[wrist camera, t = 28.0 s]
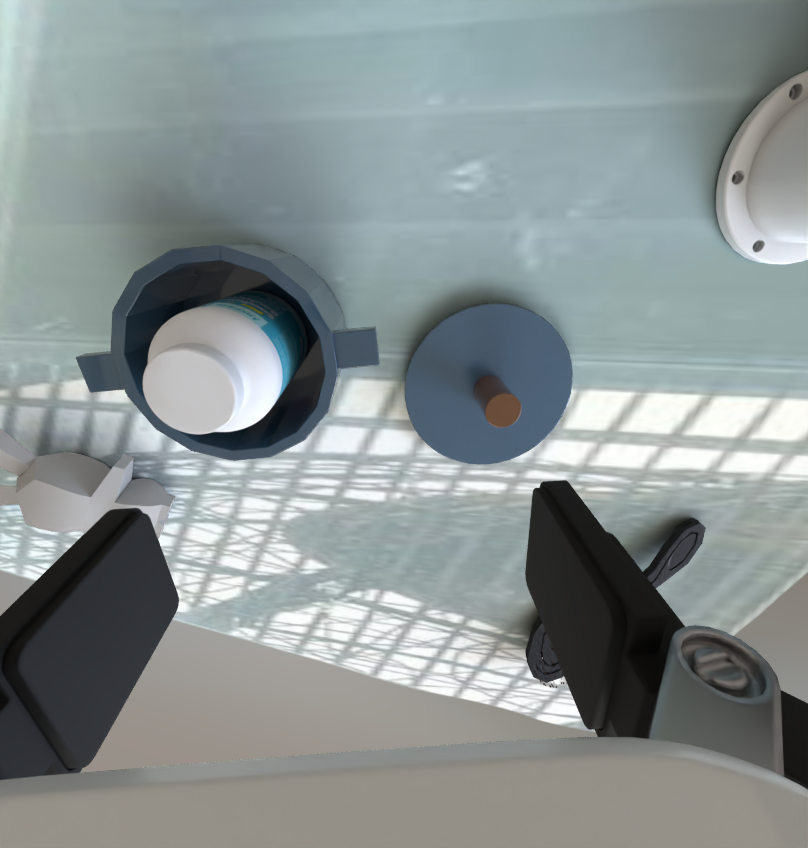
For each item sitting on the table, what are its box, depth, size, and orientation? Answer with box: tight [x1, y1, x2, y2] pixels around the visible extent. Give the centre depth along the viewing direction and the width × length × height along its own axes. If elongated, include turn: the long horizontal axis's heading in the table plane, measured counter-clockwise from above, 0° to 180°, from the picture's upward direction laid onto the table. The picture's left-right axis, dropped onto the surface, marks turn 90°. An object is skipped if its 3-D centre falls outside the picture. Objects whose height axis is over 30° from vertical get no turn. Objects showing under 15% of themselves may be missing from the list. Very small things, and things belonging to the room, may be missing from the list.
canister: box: [76, 244, 380, 461], centre depth 30 cm, size 14×19×8 cm
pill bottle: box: [143, 291, 307, 434], centre depth 27 cm, size 8×7×14 cm
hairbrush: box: [526, 519, 705, 688], centre depth 46 cm, size 8×4×25 cm
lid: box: [405, 303, 572, 464], centre depth 34 cm, size 14×14×6 cm
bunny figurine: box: [0, 429, 175, 538], centre depth 36 cm, size 10×5×15 cm
